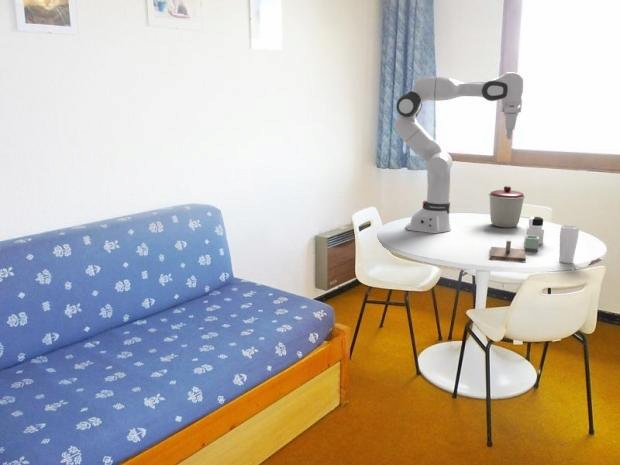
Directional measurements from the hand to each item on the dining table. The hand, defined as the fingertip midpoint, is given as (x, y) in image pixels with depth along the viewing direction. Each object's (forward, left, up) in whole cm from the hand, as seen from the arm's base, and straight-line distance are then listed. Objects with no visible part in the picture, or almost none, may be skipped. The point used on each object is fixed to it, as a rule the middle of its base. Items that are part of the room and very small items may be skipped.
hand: (508, 138), depth 265 cm
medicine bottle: (+15, -11, -47) cm, 51 cm away
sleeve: (+13, -25, -47) cm, 55 cm away
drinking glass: (+26, -39, -47) cm, 66 cm away
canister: (+2, +19, -47) cm, 51 cm away
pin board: (+3, -37, -47) cm, 60 cm away
